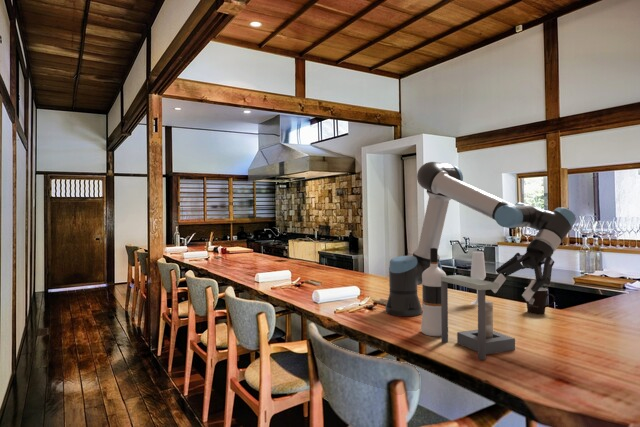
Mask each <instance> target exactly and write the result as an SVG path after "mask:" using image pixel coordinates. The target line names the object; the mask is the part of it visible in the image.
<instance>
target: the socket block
mask: <svg viewBox="0 0 640 427" xmlns="http://www.w3.org/2000/svg"><path fill="white" fill-rule="evenodd" d="M456 338H457V339H456V341H457V344H459V345H461V346H463V347H466V348H468V349H470V350H472V351H475V352H476V353H478V329H471V330H464V331H457V333H456ZM510 351H516V338H515V337H512V336H509V335H506V334H503V333H500V332H498V331H495V330H493V338H490V339H486V355H492V354H499V353H503V352H505V353H506V352H510Z"/></svg>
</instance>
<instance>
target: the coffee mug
mask: <svg viewBox="0 0 640 427" xmlns="http://www.w3.org/2000/svg"><path fill="white" fill-rule="evenodd" d="M527 287H528V286H526V287H524V291H525V290H526V289H527ZM548 291H549V290H548V289H547V288H546V287H545V288H544V287H540V288H539V290H538V291H537V292H535V293H534V294H533V296H532V297H531V299H530V300H529V301H526V300H525V303H526V310H527V313H529V314H533V315H545V314H544V313H546V308H547V307H549V306H551V305H553V304H554V303H555V302H556V297H555V296H554V294H551V293H548ZM548 296H551V297H552V299H553V301H552V302H550V303H549V304H547V297H548Z"/></svg>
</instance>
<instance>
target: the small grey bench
mask: <svg viewBox="0 0 640 427" xmlns="http://www.w3.org/2000/svg"><path fill="white" fill-rule="evenodd" d="M448 284H453V285H456V286H457V285H458V286H461V287H464V288H465V287H466V288H469V289H473V290H476V291H477V290H478V305H477V330H478V352H477V356H478V358H477V359H478V360H480V361H486V359H487V356H486V355H487V354H486V324H485V301H486V291H487V290H491V289H498V290H500V288H499V283H494V281H489V280H485V279H484V280H480V279H475V278H472V277H471V276H464V275H461V274H454V275H446V276H441V328H442V336H441V343H449V321H448V320H449V316H448V314H449V312H448V311H449V310H448V309H449V308H448V306H449V304H448V303H449V302H448V299H449V297H448V296H449V292H448V289H449V288H448V287H449V286H448Z"/></svg>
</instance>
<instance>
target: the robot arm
mask: <svg viewBox="0 0 640 427" xmlns="http://www.w3.org/2000/svg"><path fill="white" fill-rule="evenodd" d="M416 179H417V180H416V181H417V182H418V184H419V186H420V187H421V188H422V189H424V190H426V194H427V195H428V200H427V204H426V208H425V213H424V218H423V219H424V220H423V223H422V226H421V232H420V236H419V241H418V245H417V248H416V249H415V250H413V252H412V255H402V256H401V255H400V256H395V257H393V258H391V259H390V260H389V265H388V273H389V274H388V278H389V292H388V293H389V294H388V297H387V300H386V302H385V303H386V304H385V313H386V314H389V315H392V316H397V317H415V316H419V315H421V314H423V308H422V304H421V302H420V299H419V295H418V286H420V285H422V273H423V271H425V270H426V269H427V268H429V267H430V248H437V249H438V250H439V246H440V243H441V237H442V233H443V229H444V225H445V220H446V216H447V212H448V208H449V203H450V201H451V200H453V201H455V202H457V203H460V204H462V205H464V206H466V207H468V208H470V209H472V210H473V211H475V212H478V213H480V214H482V215H484V216H486V217H487V218H490V219H492V220H495V222H496V223H497V224H498V226H500V227H503V228H505V229H506V228H507V229H514V228H526V227H527V228H531V229H533V230H536V231H538V232H537V233H536V234H535V236H534V237H533V238H532V240H531V241H530V242H529V244H528V245H527V246H526V248H525V249H526V250H525V253H523V254H521V253H520V252H516V253H515V254H514V255H513V256H512V257H511V258H510V259H508V260H507V261H505V262H504V263H503V264H502V265H500V266H499V267H497V268H496V269H495V272H496V273H497V275H496V277H495V279H494V281H493V282H494V283H499V289H500V288H501V287H502V285H503V284H504V282H505V281H506V280H507V277H509V276H510V275H513V274H514V273H517V272H518V271H520V270H524V269H531V270H533V271H534V276H535V277H534V279H532V280H531V281H530V283H529V284H528V286H526V287H527V289H526V290H525V289H524V292H523V293H522V294H521V297H522V298H523V299H524V301H525V302H526V301H529V300H530V299H531V297H532V296H533V294H534V293H535V292H537V291H538V290H539V288H542V286H544V285H547V286H548V285H549V286H550V284H551V280H552V270H553V266H554V264H555V261H554V259H553V258H552V256H553V255H554V252H555V251H556V250H557V248H558V247H559V246H560V245H561V243H562V242H563V240H564V239H565V238H566V236H567V235H568V234H569V232H570V231H572V229H573V227H574V224H575V223H576V222H577V217H576V214H575V212H573V211H572V210H570V209H568V208H566V207H563V206H562V207H556V208H555V209H554V210H552V211H551V210H546V209H543V208H540V207H537V206H534V205H530V204H529V203H524V202H516V203H515V204H513V203H511V202H509V201H507V200H504V199H503V198H500V197H497V196H496V195H493V194H492V193H488V192H487V191H484V190H482V189H480V188H478V187H475V186H473V185H472V184H468V183H466V182H465V181H464V175H463V172H462V170H461V169H460V168H459V167H458V166H457V165H454V164H451V163H446V162H437V161H429V162H426V163H424V164H422V165H421V166H420V168H419V169H418V170H417V173H416ZM437 255H438V267H439V268H440V269H442V270H443V267H442V264H441V261H440V260H441V259H440V257H441V256H439V253H438V254H437ZM542 265H543V269H542ZM499 289H490V290H491V291H492V292H493V294H496V293H497V292H498V291H499Z"/></svg>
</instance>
